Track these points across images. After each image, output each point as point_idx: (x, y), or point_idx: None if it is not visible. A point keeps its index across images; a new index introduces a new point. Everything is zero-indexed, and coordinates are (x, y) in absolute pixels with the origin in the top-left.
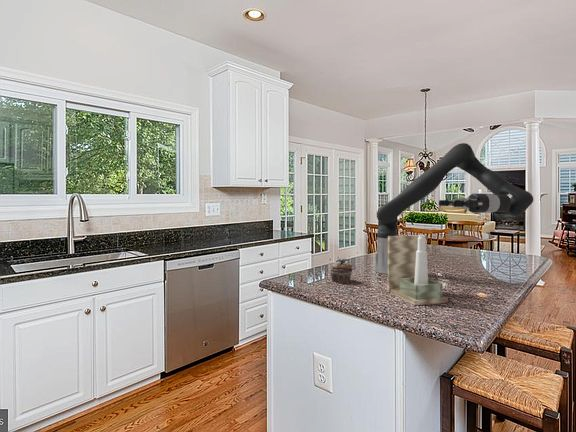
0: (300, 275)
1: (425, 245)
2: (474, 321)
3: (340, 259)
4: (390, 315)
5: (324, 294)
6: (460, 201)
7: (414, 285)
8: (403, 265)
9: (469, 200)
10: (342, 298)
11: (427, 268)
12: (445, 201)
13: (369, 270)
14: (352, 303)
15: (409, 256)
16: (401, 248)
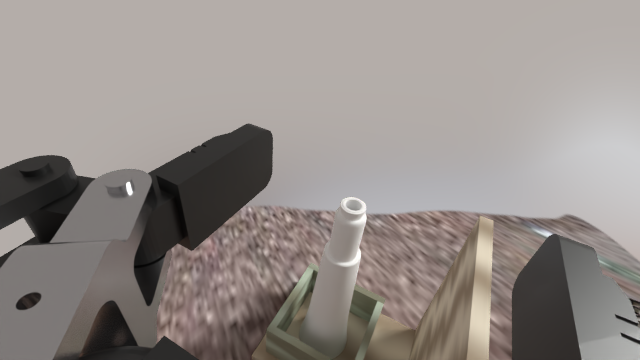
0: None
1: (331, 235)
2: (168, 270)
3: (633, 305)
4: (302, 213)
5: (458, 230)
6: (193, 165)
7: (315, 265)
8: (429, 334)
9: (47, 165)
10: (419, 231)
11: (315, 293)
12: (557, 327)
13: None
14: (385, 222)
15: (436, 340)
16: (455, 287)
